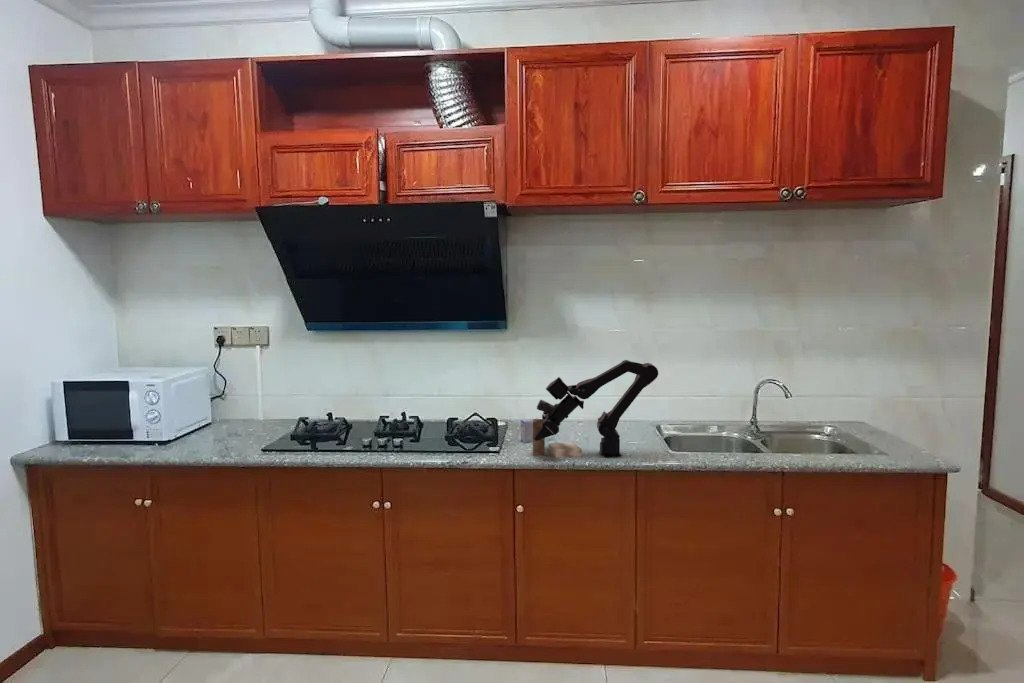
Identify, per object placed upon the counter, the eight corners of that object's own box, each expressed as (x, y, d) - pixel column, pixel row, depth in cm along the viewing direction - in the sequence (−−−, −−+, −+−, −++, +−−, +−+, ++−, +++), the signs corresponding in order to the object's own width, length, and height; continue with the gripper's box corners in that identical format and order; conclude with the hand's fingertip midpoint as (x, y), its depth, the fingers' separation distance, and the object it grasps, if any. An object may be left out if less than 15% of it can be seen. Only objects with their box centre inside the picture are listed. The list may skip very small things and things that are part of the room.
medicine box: (537, 438, 250) (538, 417, 249) (542, 441, 246) (542, 420, 245) (520, 440, 247) (520, 419, 246) (524, 443, 243) (524, 422, 242)
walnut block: (544, 452, 230) (544, 419, 228) (544, 455, 225) (544, 421, 224) (532, 452, 230) (532, 419, 228) (532, 455, 225) (532, 421, 224)
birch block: (573, 449, 235) (573, 442, 234) (581, 457, 225) (581, 449, 225) (548, 451, 232) (548, 443, 232) (555, 458, 223) (556, 451, 222)
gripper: (549, 388, 234) (520, 416, 236) (550, 398, 216) (519, 427, 217) (569, 408, 235) (540, 435, 236) (571, 419, 216) (541, 449, 218)
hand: (535, 436), depth 227 cm, fingers open, 9 cm apart
